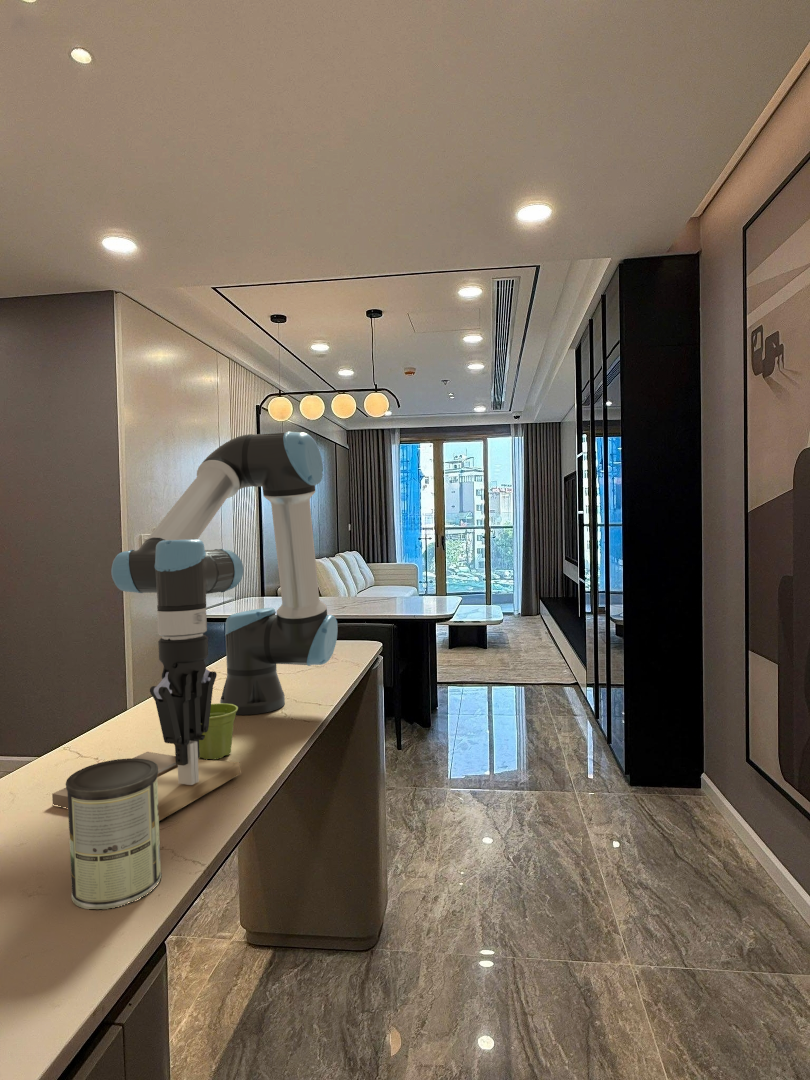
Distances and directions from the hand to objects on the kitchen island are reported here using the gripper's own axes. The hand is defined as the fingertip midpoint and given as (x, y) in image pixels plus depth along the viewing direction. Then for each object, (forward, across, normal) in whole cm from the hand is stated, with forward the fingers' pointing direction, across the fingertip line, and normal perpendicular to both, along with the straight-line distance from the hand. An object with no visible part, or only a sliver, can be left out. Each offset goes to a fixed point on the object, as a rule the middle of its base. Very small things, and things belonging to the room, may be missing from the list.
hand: (188, 782), depth 106 cm
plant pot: (+3, +18, +10) cm, 21 cm away
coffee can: (+4, -23, -9) cm, 25 cm away
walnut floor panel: (+3, 0, +14) cm, 14 cm away
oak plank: (+2, 0, +3) cm, 4 cm away
